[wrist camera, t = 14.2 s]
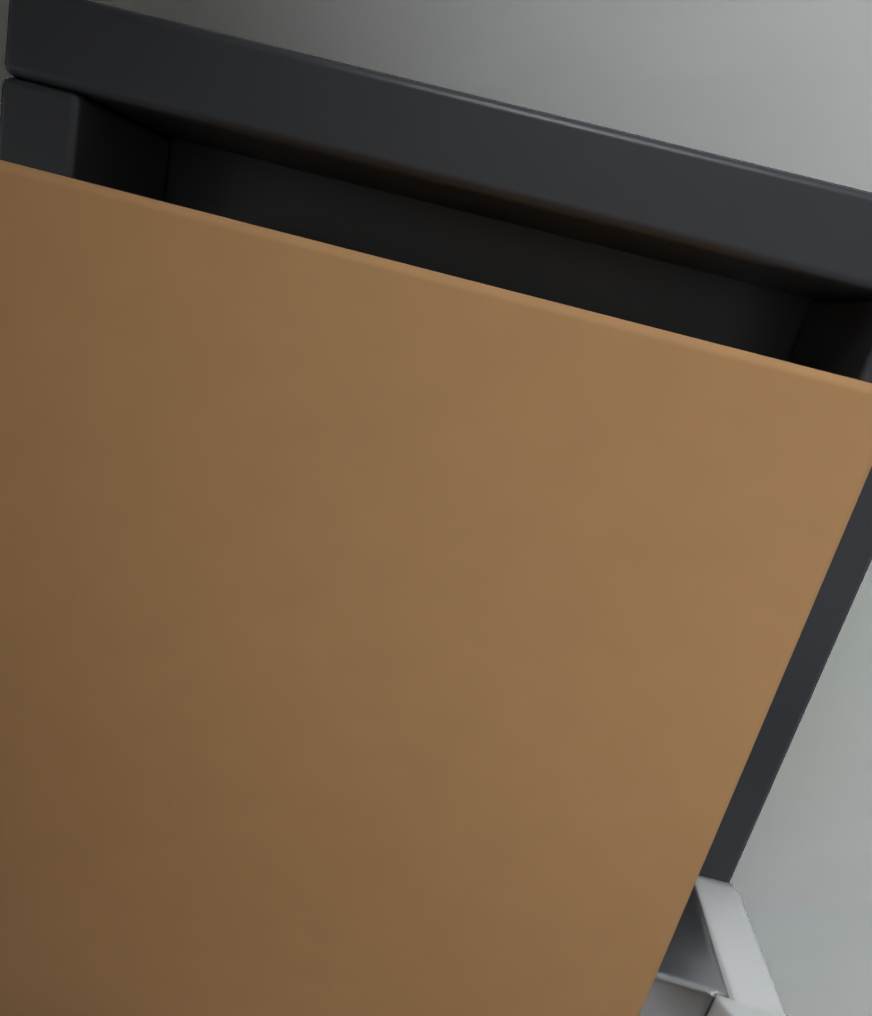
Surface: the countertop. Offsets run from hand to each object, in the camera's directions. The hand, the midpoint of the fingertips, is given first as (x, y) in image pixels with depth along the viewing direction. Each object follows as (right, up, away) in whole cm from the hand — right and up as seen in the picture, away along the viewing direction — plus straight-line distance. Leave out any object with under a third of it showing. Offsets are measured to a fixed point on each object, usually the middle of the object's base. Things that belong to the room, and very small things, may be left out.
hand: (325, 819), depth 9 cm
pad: (0, 0, +2) cm, 2 cm away
